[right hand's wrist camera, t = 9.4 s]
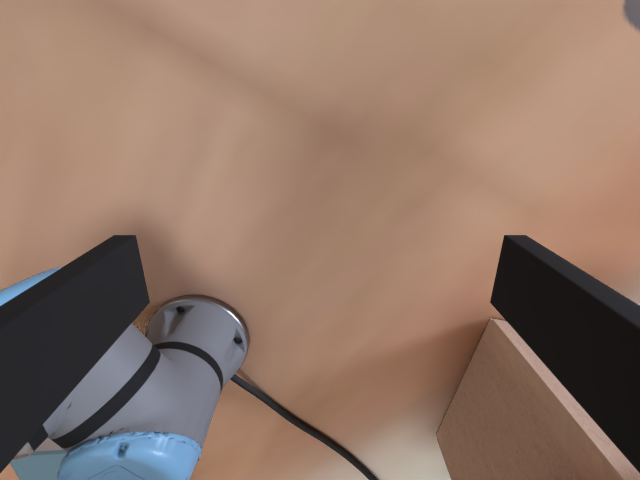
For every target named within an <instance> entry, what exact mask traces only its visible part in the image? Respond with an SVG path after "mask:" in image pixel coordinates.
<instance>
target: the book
mask: <svg viewBox="0 0 640 480" xmlns="http://www.w3.org/2000/svg"><path fill="white" fill-rule="evenodd" d="M66 454H67V452H66V451H64V450H63V449H62V448H61V447H60V446H58V445H57V444H56V443H54V442H53V441H52V440H50V439H49V438H47V439H46V440H45V441H44V442H43V443H42V444H41V445H40V446H39V447H38V448H37V449H36V450H35V451H34V452H33V453H32V454H31V455H30V456H29V457H25V458H21V459H17V460H14V461H11V462H10V464H11V466H12V467H13V469H14V471H15V472H16V474H17V476H18V477H19V479H20V480H58V479H57V474H58V470H59V467H60V462H61V460H62V459H63V457H64V456H65V455H66Z"/></svg>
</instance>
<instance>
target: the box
mask: <svg viewBox="0 0 640 480" xmlns="http://www.w3.org/2000/svg"><path fill="white" fill-rule="evenodd" d="M436 435H437V438H438V439H437V440H438V443H439V446H440V449H441V451H442V454H443V457H444V460H445V463H446V466H447V468H448V471H449V474H450V477H451V480H640V473H639V472H638V471H637V470H636V468H635V467H634V466H633V465H632V464H631V463H630V462H629V460H628V459H627V458H626V457H625V456H624V455H623V454H622V452H621V451H620V450H619V449H618V448H617V447H616V446H615V444H614V443H613V442H612V441H611V440H610V439H609V438H608V436H607V435H606V434H605V433H604V432H603V431H602V430H601V428H600V427H599V426H598V425H597V424H596V423H595V422H594V420H593V419H592V418H591V417H590V416H589V415H588V414H587V412H586V411H585V410H584V409H583V408H582V407H581V406H580V404H579V403H578V402H577V401H576V400H575V399H574V398H573V396H572V395H571V394H570V393H569V392H568V391H567V390H566V388H565V387H564V386H563V385H562V384H561V383H560V382H559V380H558V379H557V378H556V377H555V376H554V375H553V374H552V372H551V371H550V370H549V369H548V368H547V367H546V366H545V364H544V363H543V362H542V361H541V360H540V359H539V358H538V356H537V355H536V354H535V353H534V352H533V351H532V350H531V348H530V347H529V346H528V345H527V344H526V343H525V342H524V340H523V339H522V338H521V337H520V336H519V335H518V334H517V332H516V331H515V330H514V329H513V328H512V327H511V325H510V324H509V323H508V322H507V321H503V320H497V319H491V318H490V320H489V322H488V324H487V327H486V329H485V331H484V333H483V335H482V337H481V339H480V342H479V344H478V346H477V348H476V350H475V352H474V354H473V357H472V359H471V361H470V363H469V365H468V367H467V369H466V372H465V374H464V376H463V378H462V380H461V382H460V384H459V387H458V389H457V391H456V393H455V395H454V397H453V400H452V402H451V404H450V406H449V408H448V410H447V412H446V415H445V417H444V419H443V421H442V423H441V425H440V427H439V430H438V432H437V434H436Z"/></svg>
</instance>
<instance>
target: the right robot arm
mask: <svg viewBox="0 0 640 480" xmlns="http://www.w3.org/2000/svg"><path fill="white" fill-rule="evenodd" d="M149 303H150V301H149V296H148V292H147V287H146V282H145V277H144V273H143V268H142V263H141V258H140V254H139V249H138V244H137V239H136V235H114V236H112V237H111V238H109V239H107V240H106V241H104V242H103V243H101V244H99V245H98V246H96V247H95V248H93V249H91V250H90V251H88V252H86V253H85V254H83V255H82V256H80V257H78V258H77V259H75V260H74V261H72V262H70V263H69V264H67V265H66V266H64V267H62V268H54V269H50V270H47V271H44V272H42V273H39V274H37V275H34V276H32V277H30V278H27V279H25V280H23V281H20V282H18V283H16V284H14V285H12V286H10V287H7V288H5V289H3V290H1V291H0V473H1V472H2V471H3V470H4V468H5V467H6V466H7V465H8V464H9V463H10V462H11V461H14V460H17V459H21V458H25V457H29V456H30V455H31V454H32V453H33V452H34V451H35V450H36V449H37V448H38V447H39V446H40V445H41V444H42V443H43V442H44V441H45V440H46V439H47V438H49V439H50V440H52V441H53V442H54V443H56V444H57V445H58V446H60V447H61V448H62V449H63V450H64V451H66V452H67V454H66V455H65V456H64V457H63V459H62V460H61V462H60V467H59V470H58V474H57V479H58V480H189V479H190V477H191V474H192V472H193V470H194V468H195V465H196V463H197V462H198V460H199V458H200V456H201V452H202V447H203V444H204V441H205V438H206V435H207V432H208V429H209V426H210V423H211V420H212V417H213V414H214V411H215V408H216V405H217V402H218V399H219V396H220V393H221V390H222V388H223V387H224V386H225V385H226V383H227V382H228V381H229V380H230V379H231V380H232V381H233V382H235V383H236V384H238V385H239V386H241V387H242V388H244V389H245V390H246V391H248V392H250V393H251V394H253V395H254V396H256V397H257V398H259V399H260V400H261V401H263V402H264V403H265V404H267V405H268V406H269V407H271V408H272V409H273V410H275V411H276V412H277V413H279V414H280V415H281V416H283V417H284V418H285V419H287V420H288V421H289V422H291V423H292V424H294V425H295V426H297V427H298V428H300V429H302V430H303V431H305V432H307V433H308V434H310V435H312V436H313V437H315V438H317V439H318V440H320V441H321V442H323V443H324V444H326V445H327V446H329V447H330V448H332V449H333V450H335V451H336V452H337V453H339V454H340V455H341V456H343V457H344V458H345V459H347V460H348V461H349V462H350V463H352V464H353V465H354V466H355V467H356V468H357V469H358V470H360V471H361V472H362V473H363V474H364V475H365V476H366V477H367V478H368V479H369V480H376V479H375V478H374V476H373V475H372V474H371V473H370V472H369V471H368V470H367V469H366V468H365V467H363V466H362V465H361V464H360V463H359V462H358V461H357V460H356V459H354V458H353V457H352V456H351V455H350V454H348V453H347V452H346V451H345V450H343V449H342V448H341V447H339V446H338V445H336V444H335V443H334V442H332V441H331V440H329V439H328V438H326V437H325V436H323V435H322V434H320V433H319V432H317V431H315V430H314V429H312V428H310V427H309V426H307V425H305V424H304V423H302V422H301V421H299V420H298V419H296V418H295V417H293V416H292V415H290V414H289V413H288V412H286V411H285V410H284V409H282V408H281V407H280V406H278V405H277V404H276V403H275V402H273V401H272V400H271V399H269V398H268V397H267V396H265V395H264V394H263V393H261V392H260V391H258V390H257V389H255V388H254V387H252V386H251V385H249V384H248V383H247V382H245V381H244V380H242V379H241V378H239V377H238V376H237V375H235V373H236V372H237V371H238V370H239V368H240V367H241V365H242V364H243V362H244V360H245V357H246V354H247V351H248V347H249V333H248V330H247V327H246V325H245V323H244V321H243V319H242V318H241V317H240V315H239V314H238V313H237V312H236V311H235V310H234V309H233V308H231V307H230V306H229V305H227V304H225V303H224V302H222V301H220V300H217V299H215V298H212V297H208V296H203V295H184V296H180V297H177V298H174V299H172V300H170V301H168V302H166V303H165V304H163V305H162V306H161V307H160V308H159V309H158V310H157V312H156V313H155V314H154V315H153V317H152V318H151V320H150V322H149V324H148V326H147V329H146V332H145V335H143V334H142V333H141V332H140V331H139V330H138V329H137V328H136V327H135V326H134V325H133V324H132V322H133V321H134V320H135V319H136V317H137V316H138V315H139V314H140V313H141V312H142V311H143V309H144V308H145V307H146V306H147V305H148V304H149ZM490 303H491V304H492V305H493V306H494V307H495V308H496V309H497V311H498V312H499V313H500V314H501V315H502V316H503V317H504V319H505V320H506V321H507V322H508V323H509V324H510V325H511V327H512V328H513V329H514V330H515V331H516V332H517V334H518V335H519V336H520V337H521V338H522V339H523V340H524V342H525V343H526V344H527V345H528V346H529V347H530V348H531V350H532V351H533V352H534V353H535V354H536V355H537V356H538V358H539V359H540V360H541V361H542V362H543V363H544V364H545V366H546V367H547V368H548V369H549V370H550V371H551V372H552V374H553V375H554V376H555V377H556V378H557V379H558V380H559V382H560V383H561V384H562V385H563V386H564V387H565V388H566V390H567V391H568V392H569V393H570V394H571V395H572V396H573V398H574V399H575V400H576V401H577V402H578V403H579V404H580V406H581V407H582V408H583V409H584V410H585V411H586V412H587V414H588V415H589V416H590V417H591V418H592V419H593V420H594V422H595V423H596V424H597V425H598V426H599V427H600V428H601V430H602V431H603V432H604V433H605V434H606V435H607V436H608V438H609V439H610V440H611V441H612V442H613V443H614V444H615V446H616V447H617V448H618V449H619V450H620V451H621V452H622V454H623V455H624V456H625V457H626V458H627V459H628V460H629V462H630V463H631V464H632V465H633V466H634V467H635V468H636V470H637V471H638V472H639V473H640V306H639V305H637V304H636V303H634V302H632V301H631V300H629V299H628V298H626V297H624V296H623V295H621V294H620V293H618V292H616V291H615V290H613V289H612V288H610V287H608V286H607V285H605V284H603V283H602V282H600V281H599V280H597V279H595V278H594V277H592V276H591V275H589V274H587V273H586V272H584V271H583V270H581V269H579V268H578V267H576V266H574V265H573V264H571V263H570V262H568V261H566V260H565V259H563V258H562V257H560V256H558V255H557V254H555V253H554V252H552V251H550V250H549V249H547V248H545V247H544V246H542V245H541V244H539V243H537V242H536V241H534V240H533V239H531V238H529V237H528V236H526V235H504V239H503V244H502V249H501V254H500V258H499V263H498V268H497V273H496V277H495V282H494V287H493V292H492V296H491V301H490Z"/></svg>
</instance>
